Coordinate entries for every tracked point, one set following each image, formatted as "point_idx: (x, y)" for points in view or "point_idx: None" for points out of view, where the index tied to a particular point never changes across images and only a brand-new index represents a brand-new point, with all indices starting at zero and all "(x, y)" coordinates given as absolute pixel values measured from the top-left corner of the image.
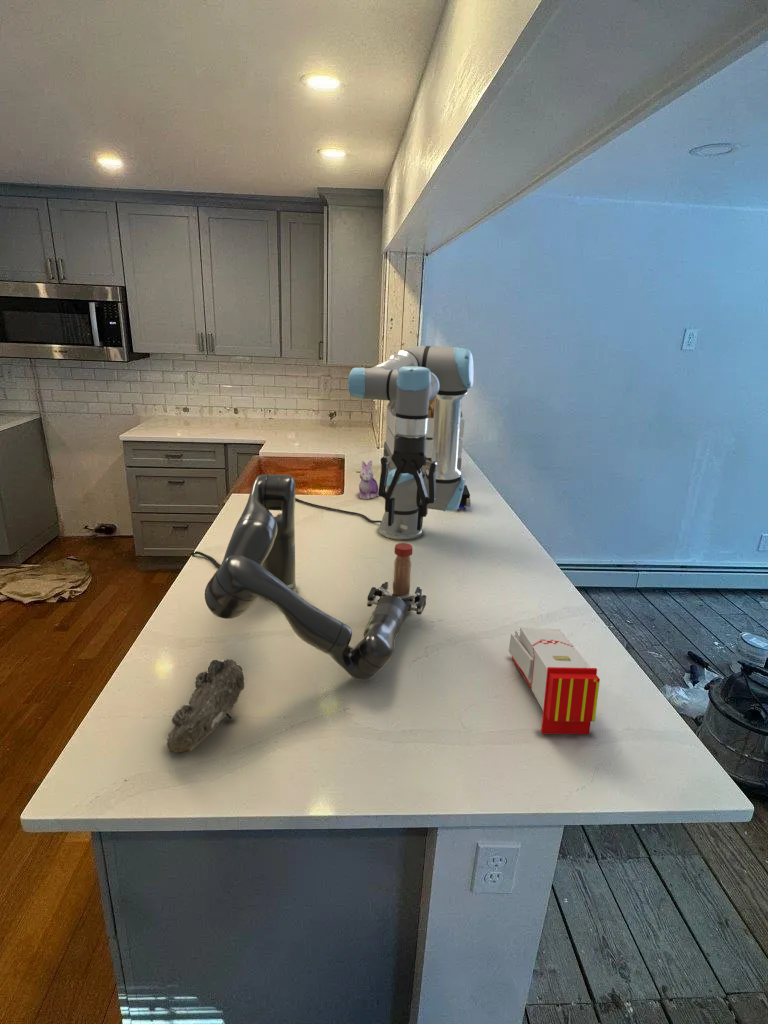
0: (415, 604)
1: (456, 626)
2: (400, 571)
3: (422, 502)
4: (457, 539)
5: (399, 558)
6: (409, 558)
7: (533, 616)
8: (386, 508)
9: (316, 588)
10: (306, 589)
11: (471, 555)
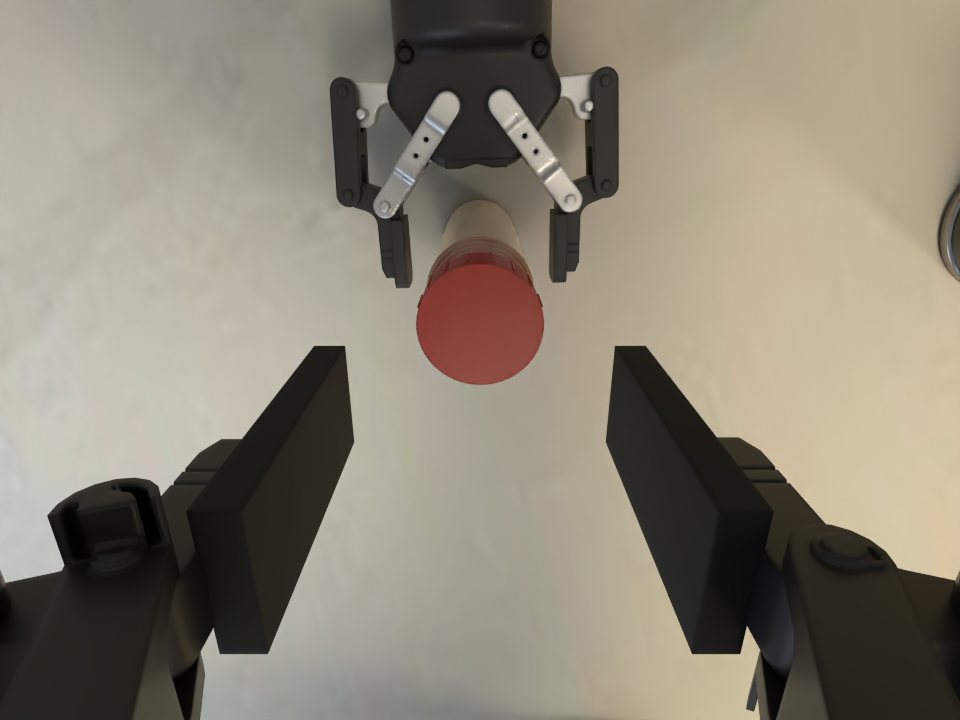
0: (372, 117)
1: (239, 199)
2: (479, 232)
3: (152, 551)
4: None
5: None
6: None
7: (7, 373)
8: (747, 462)
9: (852, 299)
10: (893, 277)
11: (342, 701)
